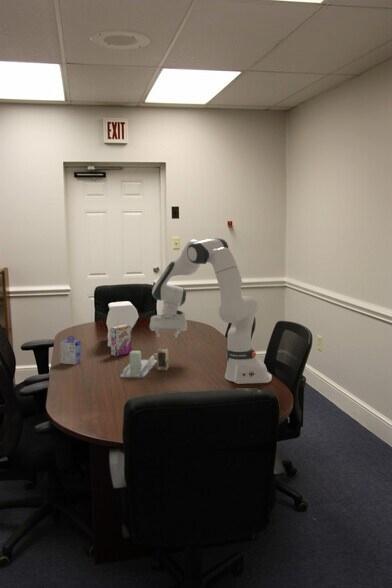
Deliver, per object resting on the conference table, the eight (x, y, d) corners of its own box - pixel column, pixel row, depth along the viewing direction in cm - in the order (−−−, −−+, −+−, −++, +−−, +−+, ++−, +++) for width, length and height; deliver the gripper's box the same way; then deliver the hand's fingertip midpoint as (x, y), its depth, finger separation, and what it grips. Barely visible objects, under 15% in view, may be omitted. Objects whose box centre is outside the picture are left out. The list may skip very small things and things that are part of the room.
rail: (156, 361, 266) (156, 342, 265) (144, 377, 239) (143, 355, 237) (135, 361, 268) (134, 341, 267) (120, 377, 241) (119, 355, 239)
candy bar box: (116, 356, 278) (114, 328, 276) (111, 355, 281) (109, 327, 279) (132, 352, 286) (130, 325, 283) (126, 351, 289) (125, 324, 287)
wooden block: (168, 367, 256) (167, 348, 254) (166, 370, 250) (165, 351, 249) (160, 367, 257) (159, 348, 255) (157, 370, 251) (157, 351, 250)
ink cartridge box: (82, 362, 268) (80, 336, 266) (76, 365, 263) (74, 338, 261) (66, 360, 272) (65, 335, 270) (60, 363, 267) (59, 337, 265)
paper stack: (104, 349, 296) (102, 307, 292) (107, 338, 322) (105, 300, 318) (139, 347, 298) (138, 305, 294) (139, 337, 324) (138, 298, 321)
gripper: (150, 311, 269) (146, 333, 261) (187, 312, 266) (184, 333, 258) (152, 318, 274) (148, 339, 266) (188, 318, 271) (186, 340, 263)
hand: (166, 336), depth 262 cm, fingers open, 8 cm apart
